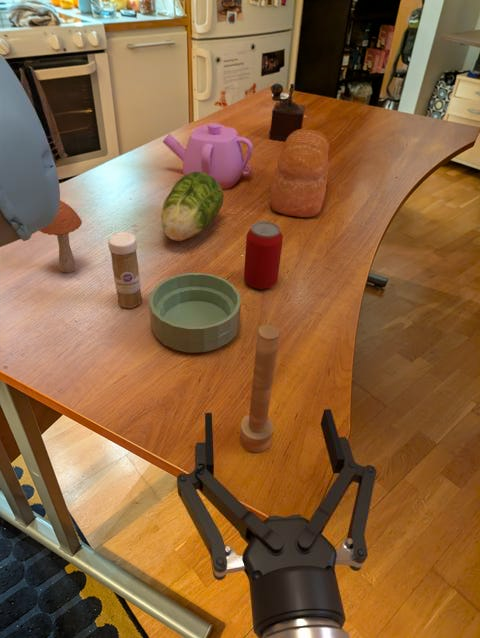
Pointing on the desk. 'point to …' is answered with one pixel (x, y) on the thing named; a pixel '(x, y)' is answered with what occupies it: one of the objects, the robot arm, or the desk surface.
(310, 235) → the desk surface
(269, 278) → the beverage can
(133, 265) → the sprinkles bottle
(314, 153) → the bread
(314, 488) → the desk surface
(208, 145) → the teapot
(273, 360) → the wooden pestle
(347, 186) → the desk surface
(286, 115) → the coffee grinder
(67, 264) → the mushroom
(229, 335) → the bowl
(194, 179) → the lettuce
